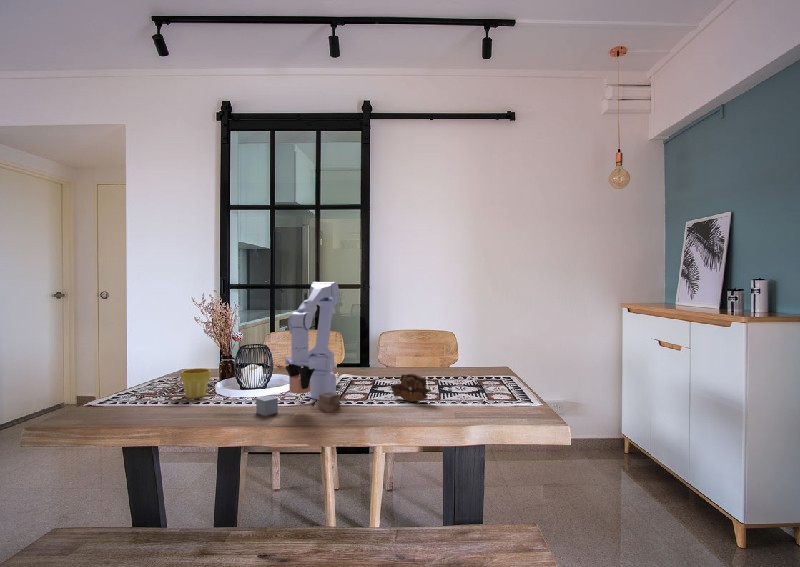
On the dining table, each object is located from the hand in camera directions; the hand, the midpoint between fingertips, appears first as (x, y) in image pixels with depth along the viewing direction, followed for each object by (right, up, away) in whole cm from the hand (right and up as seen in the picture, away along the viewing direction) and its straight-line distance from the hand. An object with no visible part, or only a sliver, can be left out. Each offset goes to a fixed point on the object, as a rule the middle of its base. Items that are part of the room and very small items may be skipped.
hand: (300, 387), depth 156 cm
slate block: (-10, -8, -3) cm, 14 cm away
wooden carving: (+38, -8, +12) cm, 41 cm away
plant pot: (-44, -8, +18) cm, 48 cm away
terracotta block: (0, -2, 0) cm, 2 cm away
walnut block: (+10, -8, +2) cm, 13 cm away
